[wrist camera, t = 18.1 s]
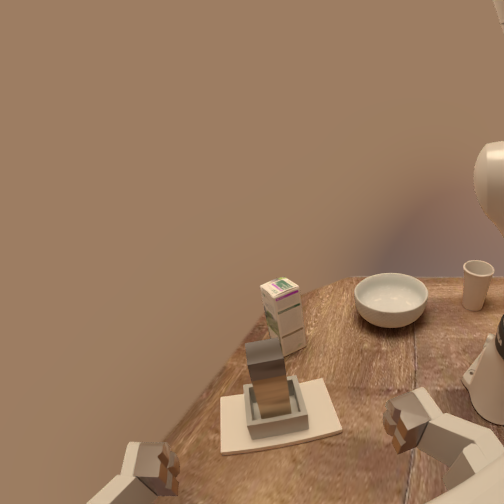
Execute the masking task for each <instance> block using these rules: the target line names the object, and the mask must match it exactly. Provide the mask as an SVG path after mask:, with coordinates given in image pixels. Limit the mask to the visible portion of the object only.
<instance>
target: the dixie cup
mask: <svg viewBox="0 0 504 504" xmlns="http://www.w3.org/2000/svg"><path fill="white" fill-rule="evenodd" d="M463 268H464V288H463V306H464V307H465V308H466V309H467V310H470V311H479V310H480V309H482V306H483V304H484V301H485V298H486V295H487V292H488V289H489V285H490V282H491V279H492V275H493V273H494V268H493V266H492V265H490V264H489V263H487V262H484V261H479V260H472V261H468V262H466V263H465V264H464V265H463Z"/></svg>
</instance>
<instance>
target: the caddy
mask: <svg viewBox="0 0 504 504" xmlns="http://www.w3.org/2000/svg"><path fill="white" fill-rule="evenodd" d="M287 384H288V391H289V398H290V404H291V412H292V414H287V415H282V416H277V417H272V418H266V419H261V415H260V411H259V408H258V404H257V400H256V396H255V392H254V389H253V385H252V384H247V385H243V388H244V394H240V395H233V396H226V397H221V453H222V455H232V454H240V453H248V452H255V451H262V450H268V449H274V448H280V447H285V446H290V445H295V444H299V443H304V442H308V441H313V440H317V439H321V438H325V437H328V436H332V435H336V434H339V433H342V427H341V425H340V422H339V419H338V417H337V414H336V412H335V409H334V407H333V404H332V401H331V399H330V396H329V394H328V391H327V389H326V386H325V384H324V381H323V379H322V378H320V379H316V380H312V381H307V382H303V383H298V379H297V376H296V375H294V376H289V377H287Z"/></svg>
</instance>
